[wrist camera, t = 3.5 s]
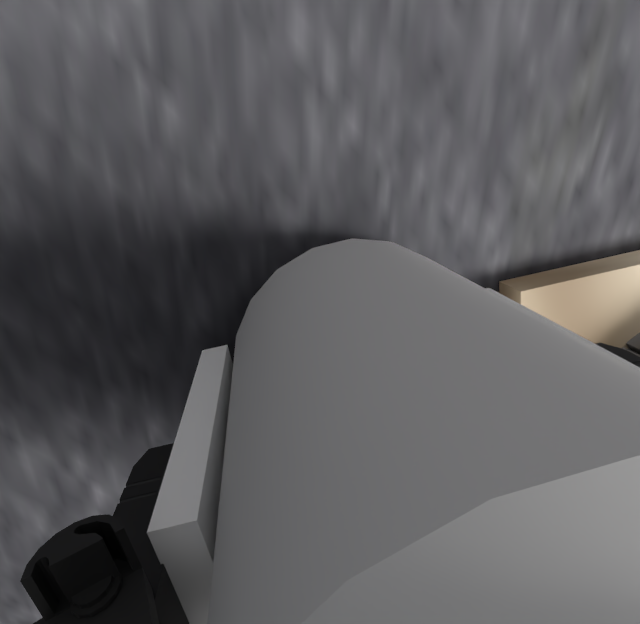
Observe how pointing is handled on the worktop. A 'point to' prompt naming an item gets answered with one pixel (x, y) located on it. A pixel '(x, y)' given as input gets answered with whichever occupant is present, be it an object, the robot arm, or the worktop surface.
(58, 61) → the worktop surface
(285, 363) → the can
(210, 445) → the robot arm
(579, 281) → the board
